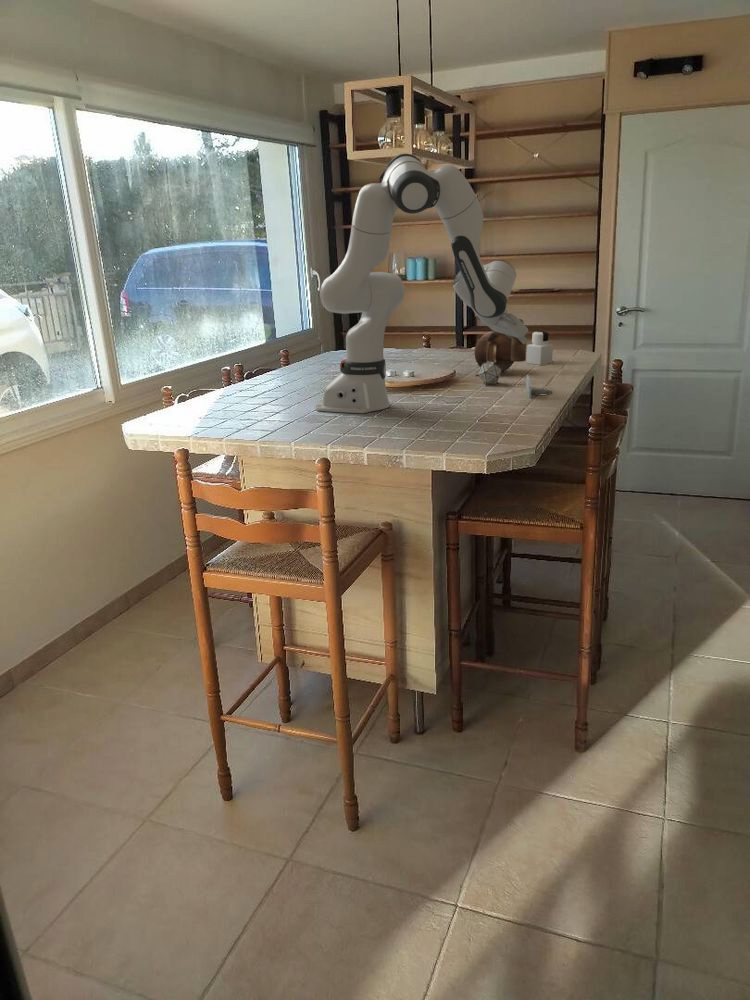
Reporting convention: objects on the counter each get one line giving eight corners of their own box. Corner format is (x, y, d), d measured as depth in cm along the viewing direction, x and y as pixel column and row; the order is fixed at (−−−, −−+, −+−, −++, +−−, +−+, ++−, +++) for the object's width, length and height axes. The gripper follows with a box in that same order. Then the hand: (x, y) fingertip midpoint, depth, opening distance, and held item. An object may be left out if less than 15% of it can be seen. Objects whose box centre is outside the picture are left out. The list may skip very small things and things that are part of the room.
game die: (494, 395, 257) (506, 375, 250) (471, 387, 256) (482, 366, 249) (496, 378, 263) (508, 357, 255) (473, 370, 262) (484, 349, 254)
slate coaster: (529, 395, 239) (529, 393, 239) (528, 390, 246) (528, 389, 246) (552, 395, 238) (552, 393, 238) (550, 390, 245) (550, 389, 245)
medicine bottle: (537, 361, 297) (539, 330, 293) (552, 363, 292) (554, 331, 288) (525, 363, 293) (527, 332, 289) (540, 365, 288) (542, 333, 284)
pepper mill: (511, 361, 238) (512, 319, 233) (510, 359, 242) (511, 318, 238) (526, 361, 237) (527, 319, 233) (525, 359, 241) (526, 317, 237)
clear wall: (528, 398, 234) (529, 386, 233) (526, 387, 251) (526, 375, 249) (530, 398, 234) (531, 386, 233) (528, 387, 251) (528, 375, 249)
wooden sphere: (488, 367, 286) (489, 327, 281) (523, 371, 277) (525, 330, 272) (466, 374, 276) (466, 332, 271) (501, 378, 266) (502, 335, 261)
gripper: (514, 306, 222) (543, 337, 228) (486, 300, 241) (513, 329, 247) (500, 322, 223) (529, 353, 229) (472, 315, 241) (500, 344, 247)
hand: (520, 341), depth 238 cm, fingers closed on pepper mill, 5 cm apart
